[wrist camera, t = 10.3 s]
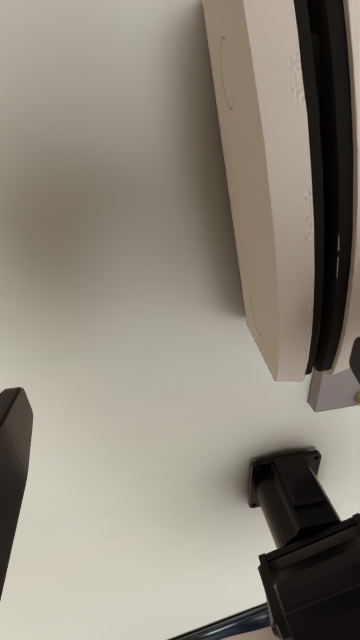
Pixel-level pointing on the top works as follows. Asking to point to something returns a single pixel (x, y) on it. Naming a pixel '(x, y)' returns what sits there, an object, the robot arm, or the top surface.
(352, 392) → the plate
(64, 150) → the top surface
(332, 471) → the top surface
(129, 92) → the top surface
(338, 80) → the curved beige panel
